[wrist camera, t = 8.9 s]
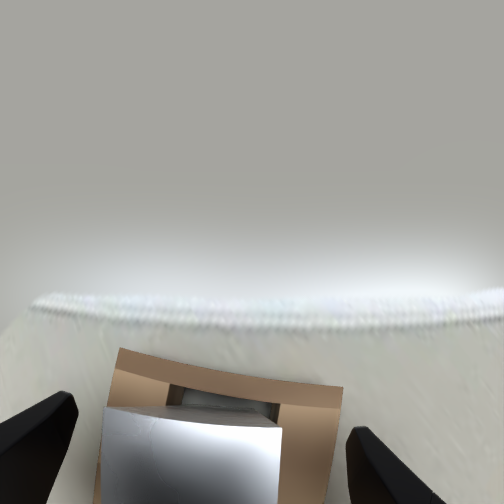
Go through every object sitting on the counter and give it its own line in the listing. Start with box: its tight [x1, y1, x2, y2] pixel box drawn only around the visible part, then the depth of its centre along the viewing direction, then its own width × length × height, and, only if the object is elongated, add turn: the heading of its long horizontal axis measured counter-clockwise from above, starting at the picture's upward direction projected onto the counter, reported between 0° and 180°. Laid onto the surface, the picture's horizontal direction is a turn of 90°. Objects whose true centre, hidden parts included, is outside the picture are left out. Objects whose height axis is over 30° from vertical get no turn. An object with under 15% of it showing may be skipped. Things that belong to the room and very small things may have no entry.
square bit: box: [101, 404, 282, 504], centre depth 10 cm, size 4×4×12 cm
